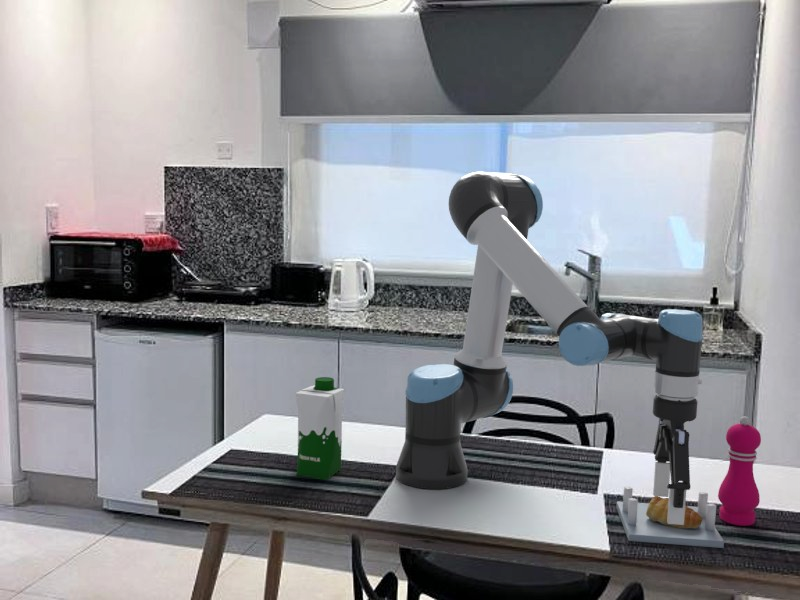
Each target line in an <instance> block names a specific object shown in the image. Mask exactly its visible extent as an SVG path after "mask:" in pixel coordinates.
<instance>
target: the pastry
mask: <svg viewBox="0 0 800 600" xmlns="http://www.w3.org/2000/svg"><path fill="white" fill-rule="evenodd" d="M668 501H669V497H664V498H662V497H660V496H653V497H651V500H650V501H649V502H648V503H649V505H648V508H647V512H646V515H647V516H648V517H649V518H650V519H651V520H652V521H655V522H656V521H659V522H661V524H664V525H670V526H673V527H678V528H682V529H685V528H686V529H688V528H693V529H695V528H698V527H699V526H700V525H701V522H702V519H703V518H702V517H701V516H700V515H699V514H698V513H697V512H695V511H694V510H693V509H691V508H689V507H687V506H688V505H686V504H685V516H684V525H678V524H668V523H667V515H668Z"/></svg>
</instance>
